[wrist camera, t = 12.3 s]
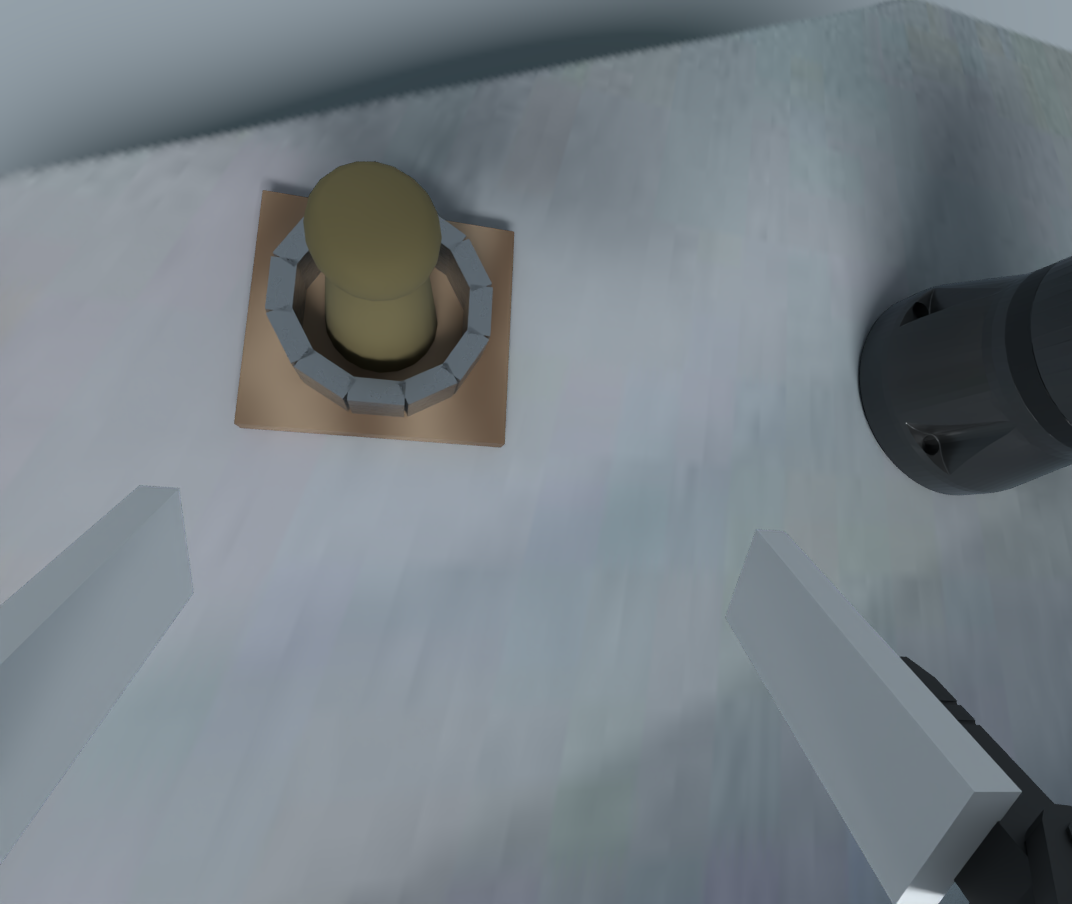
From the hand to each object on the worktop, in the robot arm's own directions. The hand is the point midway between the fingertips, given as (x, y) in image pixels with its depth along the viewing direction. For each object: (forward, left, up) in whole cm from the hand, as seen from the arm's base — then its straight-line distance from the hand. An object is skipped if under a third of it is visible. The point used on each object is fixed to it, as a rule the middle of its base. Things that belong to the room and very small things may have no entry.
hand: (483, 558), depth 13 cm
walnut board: (+3, -12, -19) cm, 23 cm away
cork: (+4, -12, -18) cm, 22 cm away
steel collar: (+3, -12, -17) cm, 22 cm away
